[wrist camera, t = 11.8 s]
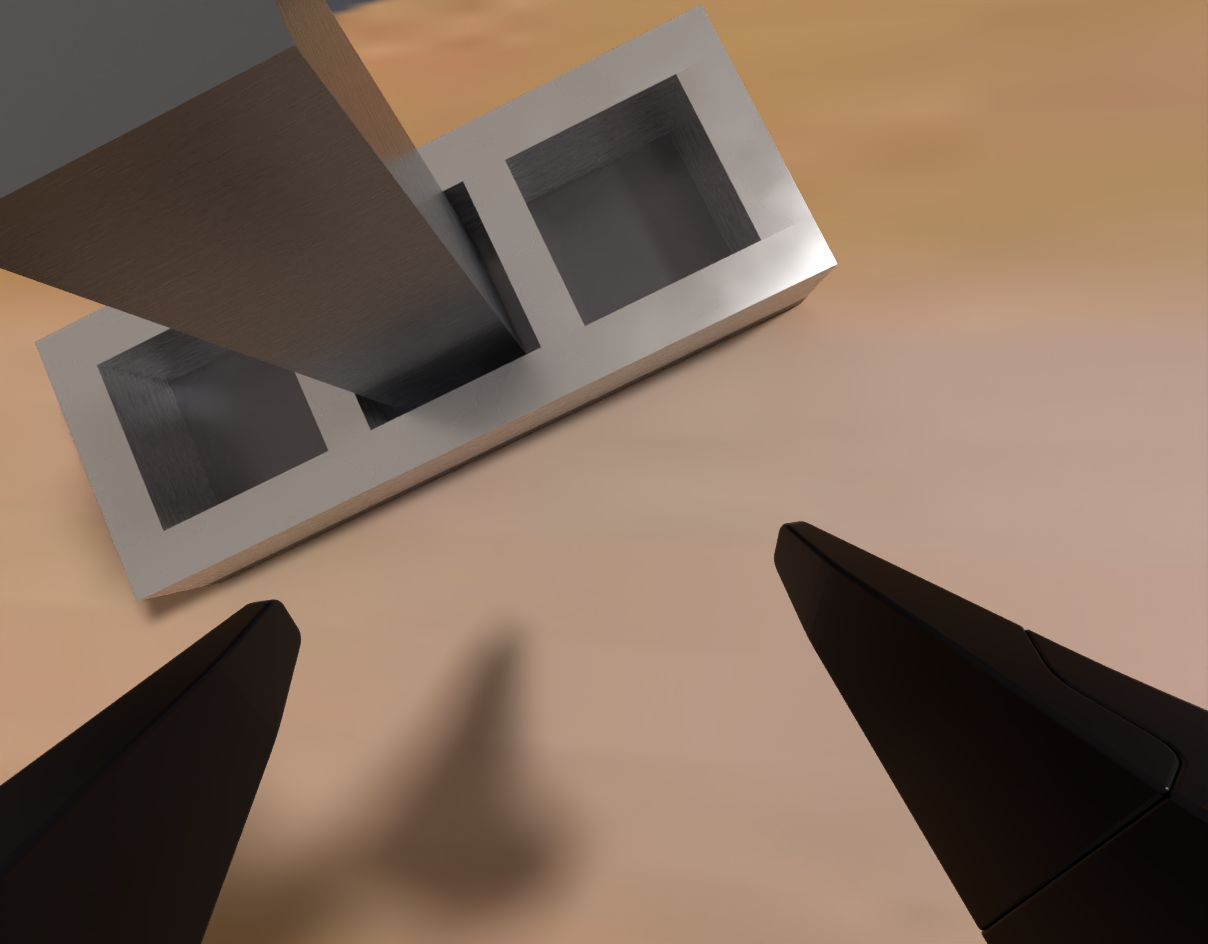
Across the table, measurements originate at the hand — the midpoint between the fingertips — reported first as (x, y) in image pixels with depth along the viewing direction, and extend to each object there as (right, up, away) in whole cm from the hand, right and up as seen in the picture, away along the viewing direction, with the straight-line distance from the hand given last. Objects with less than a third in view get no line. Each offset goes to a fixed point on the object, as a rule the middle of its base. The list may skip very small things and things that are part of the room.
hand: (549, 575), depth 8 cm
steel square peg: (-5, +7, +9) cm, 13 cm away
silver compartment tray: (-5, +7, +10) cm, 13 cm away
